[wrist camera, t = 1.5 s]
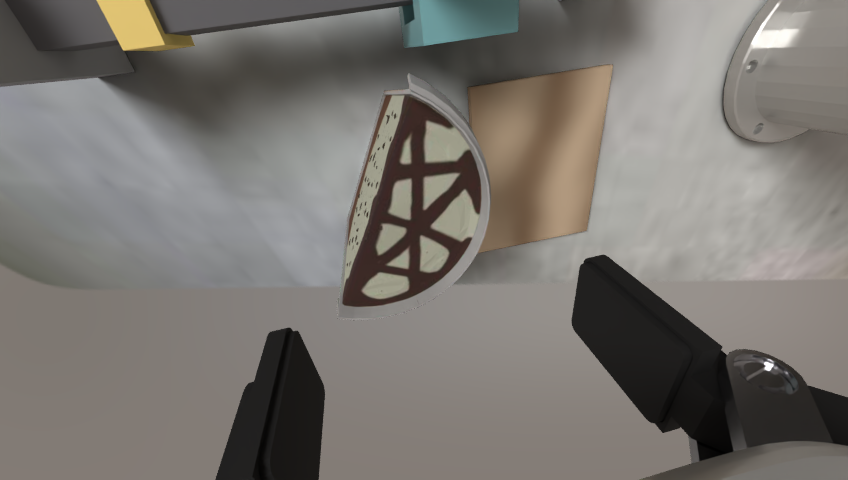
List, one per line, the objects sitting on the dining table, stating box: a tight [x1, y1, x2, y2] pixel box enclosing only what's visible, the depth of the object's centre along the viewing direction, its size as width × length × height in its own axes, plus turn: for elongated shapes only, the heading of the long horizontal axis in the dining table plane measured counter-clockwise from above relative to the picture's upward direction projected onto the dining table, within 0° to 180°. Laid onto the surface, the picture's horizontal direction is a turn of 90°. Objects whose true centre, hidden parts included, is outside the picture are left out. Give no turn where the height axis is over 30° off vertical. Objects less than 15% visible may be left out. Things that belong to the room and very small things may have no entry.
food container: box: [337, 73, 491, 320], centre depth 19 cm, size 12×6×10 cm, turn 159°
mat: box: [468, 64, 613, 253], centre depth 25 cm, size 10×13×1 cm
